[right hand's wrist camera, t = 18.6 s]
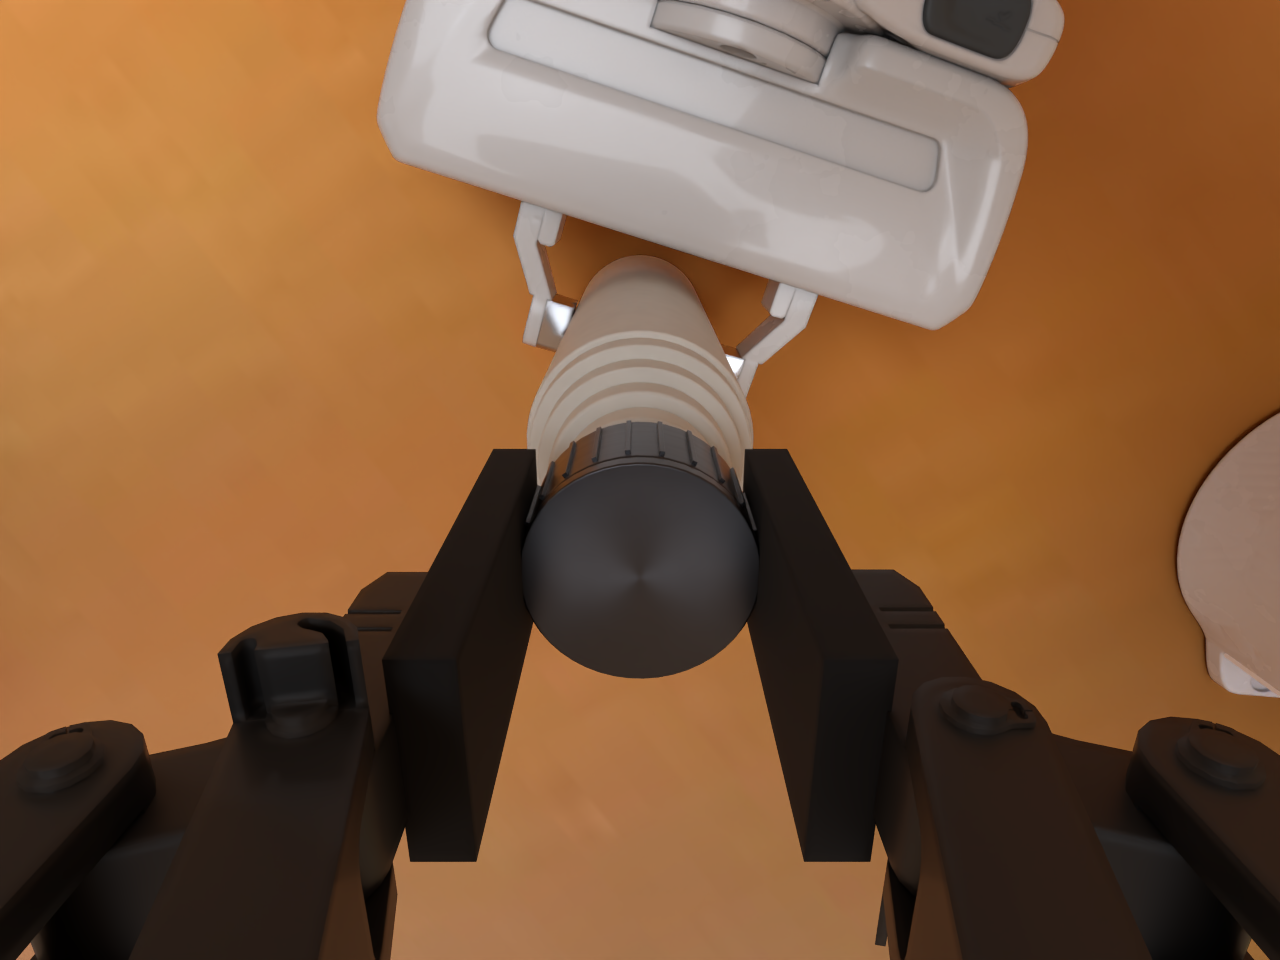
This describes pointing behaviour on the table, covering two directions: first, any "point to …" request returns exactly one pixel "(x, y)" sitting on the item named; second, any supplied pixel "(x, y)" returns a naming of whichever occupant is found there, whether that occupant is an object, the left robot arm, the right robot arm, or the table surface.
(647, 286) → the bottle
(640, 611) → the cap
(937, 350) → the table surface
